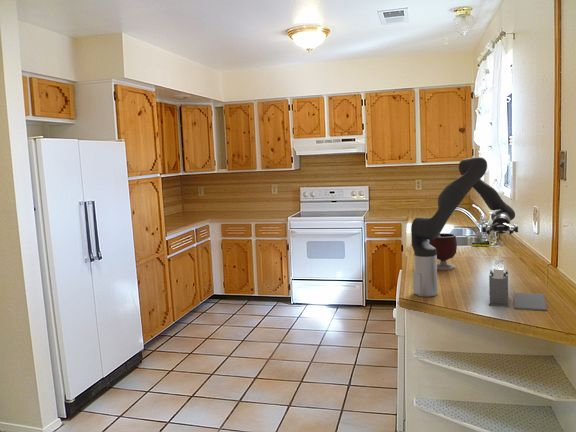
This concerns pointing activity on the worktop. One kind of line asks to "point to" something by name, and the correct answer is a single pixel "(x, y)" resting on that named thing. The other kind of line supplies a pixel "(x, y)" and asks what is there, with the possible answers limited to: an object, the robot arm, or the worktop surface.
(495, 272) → the rail
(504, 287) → the rack
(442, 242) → the mate gourd
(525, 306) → the mat
